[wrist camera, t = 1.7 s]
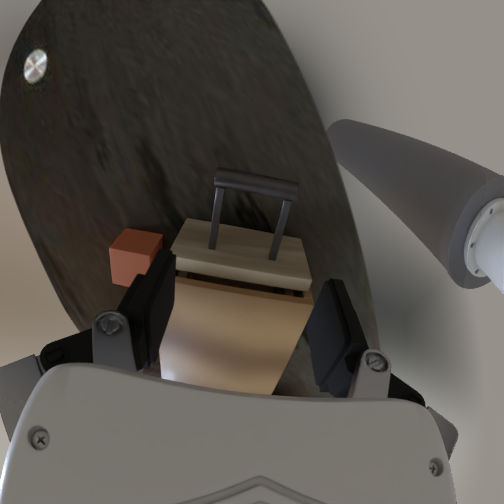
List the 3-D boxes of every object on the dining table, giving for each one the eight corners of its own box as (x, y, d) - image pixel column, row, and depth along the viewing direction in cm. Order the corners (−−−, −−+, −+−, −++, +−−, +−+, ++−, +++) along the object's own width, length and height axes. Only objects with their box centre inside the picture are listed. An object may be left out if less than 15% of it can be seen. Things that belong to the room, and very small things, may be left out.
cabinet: (181, 228, 28) (155, 278, 21) (300, 249, 29) (314, 305, 22) (176, 325, 36) (161, 379, 28) (269, 341, 37) (270, 396, 29)
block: (126, 227, 28) (108, 247, 24) (163, 234, 29) (149, 255, 25) (127, 261, 30) (112, 283, 27) (162, 268, 31) (150, 291, 27)
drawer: (195, 150, 23) (172, 169, 17) (320, 174, 24) (340, 201, 18) (180, 316, 33) (167, 360, 27) (269, 331, 34) (271, 376, 28)
